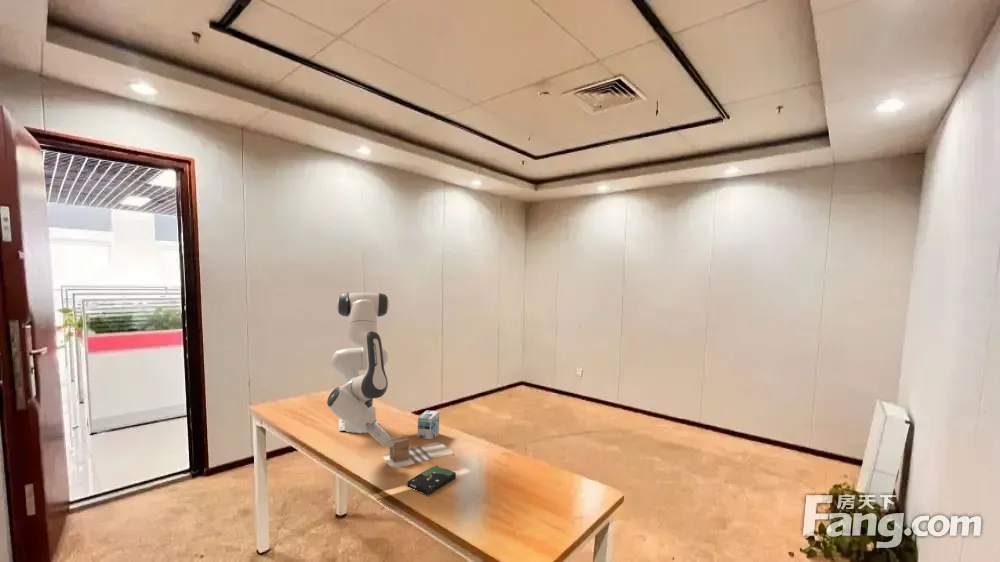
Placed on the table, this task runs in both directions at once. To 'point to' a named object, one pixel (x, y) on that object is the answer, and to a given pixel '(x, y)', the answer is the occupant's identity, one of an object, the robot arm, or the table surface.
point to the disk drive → (432, 480)
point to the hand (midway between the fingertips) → (388, 440)
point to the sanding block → (399, 449)
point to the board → (420, 454)
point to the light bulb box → (428, 425)
